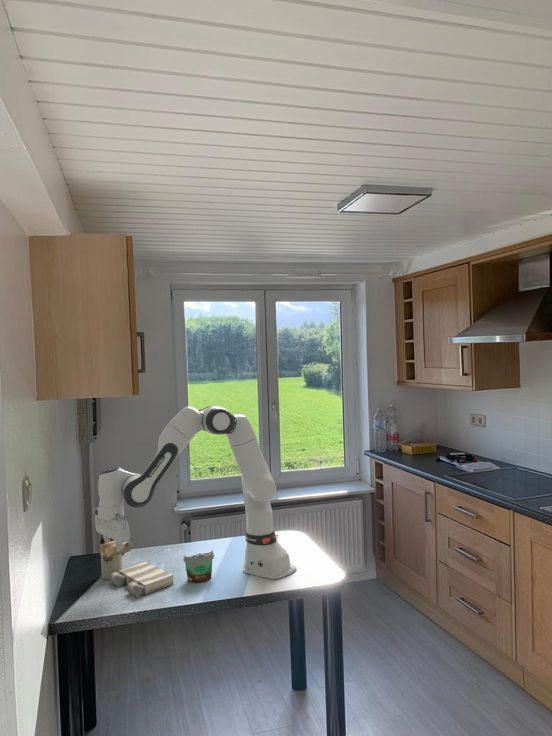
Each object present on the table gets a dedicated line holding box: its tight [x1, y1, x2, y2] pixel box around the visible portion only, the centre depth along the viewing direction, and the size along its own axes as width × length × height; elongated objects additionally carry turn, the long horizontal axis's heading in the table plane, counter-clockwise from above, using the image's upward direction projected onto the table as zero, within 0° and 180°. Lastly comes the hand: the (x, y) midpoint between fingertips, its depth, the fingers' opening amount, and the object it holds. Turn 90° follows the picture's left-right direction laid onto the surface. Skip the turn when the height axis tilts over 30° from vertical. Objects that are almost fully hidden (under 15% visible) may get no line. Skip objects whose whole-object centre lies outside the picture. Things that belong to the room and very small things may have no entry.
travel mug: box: [99, 534, 123, 580], centre depth 206 cm, size 8×8×18 cm
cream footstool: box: [108, 561, 174, 598], centre depth 197 cm, size 20×16×4 cm
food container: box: [183, 550, 215, 584], centre depth 198 cm, size 12×6×10 cm, turn 117°
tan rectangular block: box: [99, 540, 134, 558], centre depth 190 cm, size 6×10×4 cm, turn 135°
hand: (113, 548), depth 189 cm, fingers closed on tan rectangular block, 6 cm apart
